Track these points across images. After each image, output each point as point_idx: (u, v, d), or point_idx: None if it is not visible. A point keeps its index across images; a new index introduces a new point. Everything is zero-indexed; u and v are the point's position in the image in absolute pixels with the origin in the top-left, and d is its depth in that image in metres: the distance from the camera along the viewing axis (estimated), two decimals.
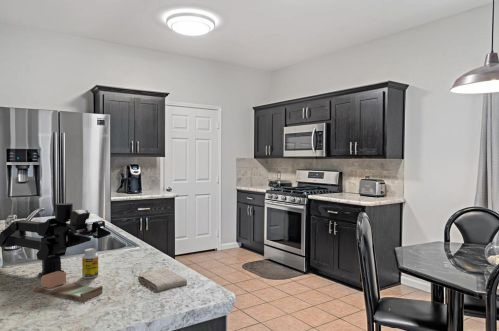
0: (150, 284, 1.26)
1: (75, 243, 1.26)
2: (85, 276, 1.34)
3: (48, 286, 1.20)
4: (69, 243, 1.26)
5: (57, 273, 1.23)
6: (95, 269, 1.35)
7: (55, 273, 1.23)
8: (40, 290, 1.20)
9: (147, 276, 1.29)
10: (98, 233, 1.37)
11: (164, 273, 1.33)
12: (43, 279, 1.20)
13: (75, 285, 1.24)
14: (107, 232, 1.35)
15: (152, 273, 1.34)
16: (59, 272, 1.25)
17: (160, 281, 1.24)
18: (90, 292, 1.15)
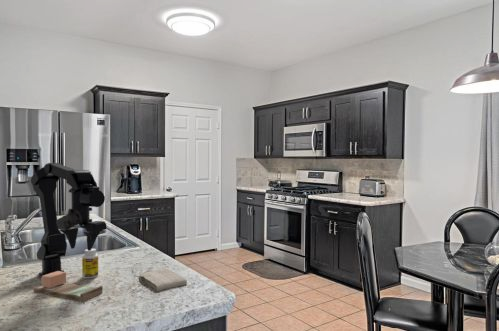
0: (150, 284, 1.26)
1: None
2: (85, 276, 1.34)
3: (48, 286, 1.20)
4: None
5: (57, 273, 1.23)
6: (95, 269, 1.35)
7: (55, 273, 1.23)
8: (40, 290, 1.20)
9: (147, 276, 1.29)
10: None
11: (164, 273, 1.33)
12: (43, 279, 1.20)
13: (75, 285, 1.24)
14: None
15: (152, 273, 1.34)
16: (59, 272, 1.25)
17: (160, 281, 1.24)
18: (90, 292, 1.15)
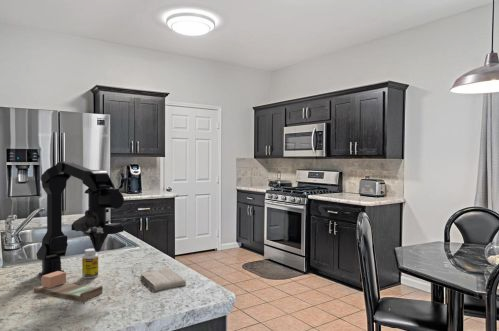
0: (149, 283, 1.26)
1: None
2: (85, 276, 1.34)
3: (48, 286, 1.20)
4: None
5: (57, 273, 1.23)
6: (95, 268, 1.35)
7: (55, 273, 1.23)
8: (40, 290, 1.20)
9: (147, 275, 1.30)
10: None
11: (165, 273, 1.33)
12: (43, 279, 1.20)
13: (75, 285, 1.24)
14: None
15: (154, 272, 1.34)
16: (59, 272, 1.25)
17: (158, 281, 1.24)
18: (90, 292, 1.15)
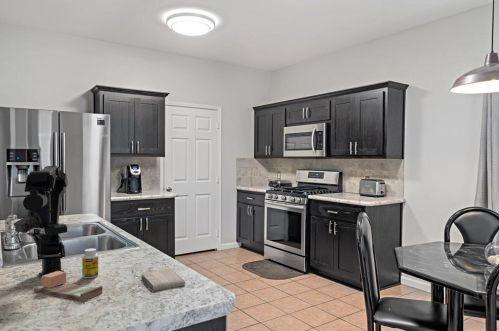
0: (149, 283, 1.26)
1: None
2: (85, 276, 1.34)
3: (48, 286, 1.20)
4: None
5: (57, 273, 1.23)
6: (95, 268, 1.35)
7: (55, 273, 1.23)
8: (40, 290, 1.20)
9: (148, 275, 1.30)
10: None
11: (166, 273, 1.34)
12: (43, 279, 1.20)
13: (75, 285, 1.24)
14: None
15: (154, 272, 1.35)
16: (59, 272, 1.25)
17: (157, 281, 1.24)
18: (90, 292, 1.15)
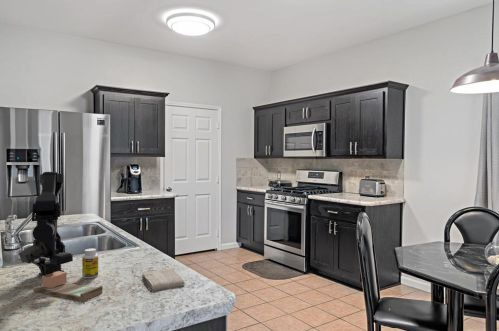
0: (148, 283, 1.26)
1: None
2: (85, 276, 1.34)
3: (49, 286, 1.19)
4: None
5: (58, 273, 1.23)
6: (95, 269, 1.35)
7: (56, 273, 1.23)
8: (40, 290, 1.20)
9: (148, 275, 1.31)
10: None
11: (166, 273, 1.34)
12: (44, 279, 1.20)
13: (75, 285, 1.24)
14: None
15: (155, 272, 1.35)
16: (59, 272, 1.25)
17: (157, 281, 1.25)
18: (90, 292, 1.15)
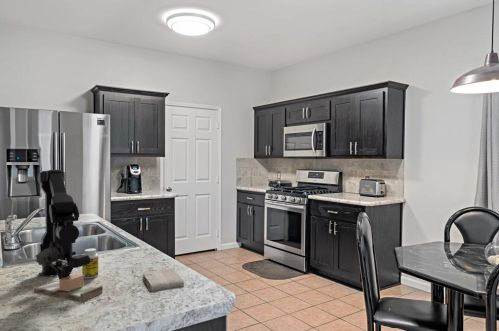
0: (148, 283, 1.27)
1: None
2: (85, 276, 1.34)
3: (66, 289, 1.16)
4: None
5: (75, 276, 1.20)
6: (95, 268, 1.35)
7: (73, 276, 1.20)
8: (40, 290, 1.20)
9: (148, 275, 1.31)
10: None
11: (166, 273, 1.34)
12: (61, 282, 1.17)
13: None
14: None
15: (155, 272, 1.35)
16: (76, 275, 1.22)
17: (156, 281, 1.25)
18: (90, 292, 1.15)
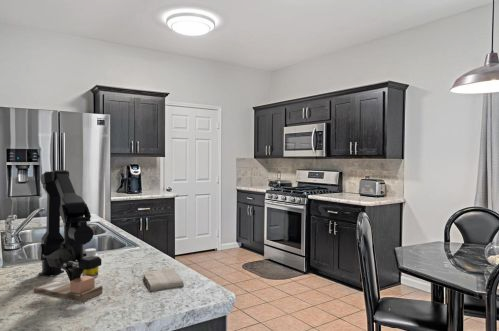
0: (148, 283, 1.27)
1: None
2: None
3: (77, 292, 1.14)
4: None
5: (85, 278, 1.18)
6: (95, 269, 1.35)
7: (83, 278, 1.18)
8: (40, 290, 1.20)
9: (148, 275, 1.31)
10: None
11: (166, 273, 1.34)
12: (72, 284, 1.15)
13: None
14: None
15: (156, 272, 1.35)
16: (87, 276, 1.20)
17: (156, 281, 1.25)
18: (90, 292, 1.15)
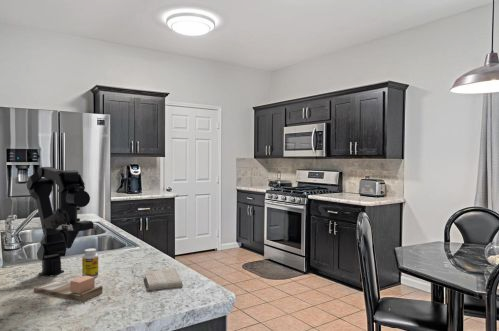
0: (148, 282, 1.27)
1: None
2: None
3: (77, 292, 1.14)
4: None
5: (85, 278, 1.18)
6: (95, 268, 1.35)
7: (83, 278, 1.18)
8: (40, 290, 1.20)
9: (149, 274, 1.31)
10: None
11: (167, 273, 1.34)
12: (72, 284, 1.15)
13: None
14: None
15: (157, 272, 1.35)
16: (87, 276, 1.20)
17: (155, 281, 1.25)
18: (90, 292, 1.15)
